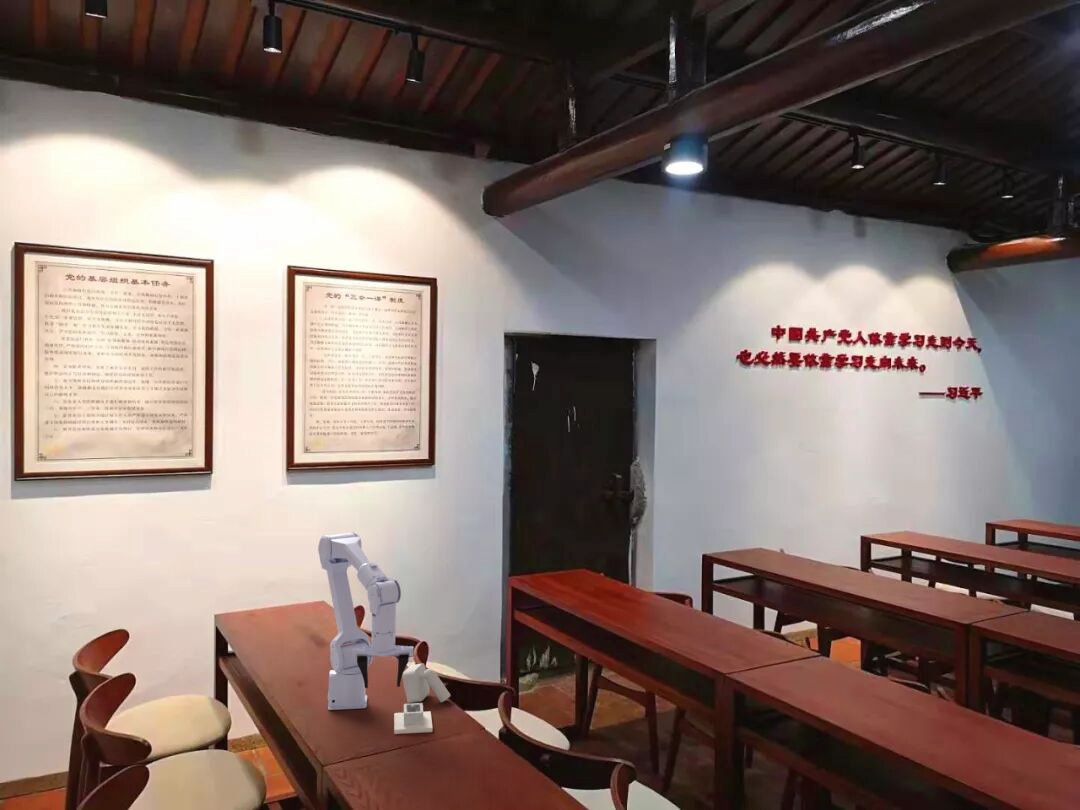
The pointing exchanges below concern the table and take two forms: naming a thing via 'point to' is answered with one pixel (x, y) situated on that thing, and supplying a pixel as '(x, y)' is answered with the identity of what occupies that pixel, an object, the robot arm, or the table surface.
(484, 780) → the table surface
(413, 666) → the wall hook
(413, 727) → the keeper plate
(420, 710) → the hollow square tube
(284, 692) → the table surface
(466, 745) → the table surface
